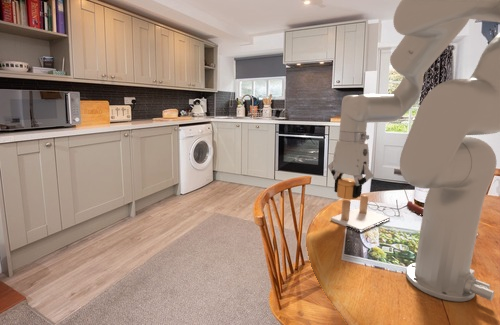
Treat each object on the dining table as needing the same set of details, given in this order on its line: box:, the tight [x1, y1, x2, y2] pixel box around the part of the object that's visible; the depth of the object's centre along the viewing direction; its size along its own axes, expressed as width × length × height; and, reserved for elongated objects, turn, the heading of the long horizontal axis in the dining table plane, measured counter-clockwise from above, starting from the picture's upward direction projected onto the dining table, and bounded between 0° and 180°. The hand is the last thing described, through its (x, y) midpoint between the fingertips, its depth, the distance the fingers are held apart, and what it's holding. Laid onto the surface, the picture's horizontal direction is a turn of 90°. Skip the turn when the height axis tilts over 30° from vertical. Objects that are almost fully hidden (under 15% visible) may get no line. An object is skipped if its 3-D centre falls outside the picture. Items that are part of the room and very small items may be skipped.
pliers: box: [406, 200, 424, 216], centre depth 99 cm, size 12×20×3 cm, turn 165°
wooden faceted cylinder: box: [336, 177, 359, 200], centre depth 92 cm, size 6×6×5 cm
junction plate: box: [330, 194, 390, 230], centre depth 95 cm, size 11×16×7 cm
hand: (347, 193), depth 92 cm, fingers closed on wooden faceted cylinder, 6 cm apart
